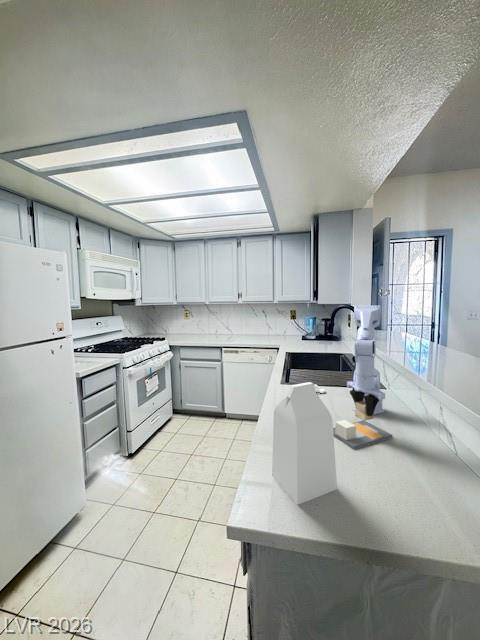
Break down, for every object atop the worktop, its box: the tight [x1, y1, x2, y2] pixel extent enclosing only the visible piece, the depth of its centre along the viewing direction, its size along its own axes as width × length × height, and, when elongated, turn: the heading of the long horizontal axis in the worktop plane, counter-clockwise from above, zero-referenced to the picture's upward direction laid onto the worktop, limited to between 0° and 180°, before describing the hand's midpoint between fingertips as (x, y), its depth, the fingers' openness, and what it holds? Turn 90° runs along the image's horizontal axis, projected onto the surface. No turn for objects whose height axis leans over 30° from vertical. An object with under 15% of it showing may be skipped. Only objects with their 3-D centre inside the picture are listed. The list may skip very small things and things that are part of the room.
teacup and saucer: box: [313, 383, 326, 394], centre depth 135 cm, size 9×8×4 cm
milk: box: [271, 381, 338, 506], centre depth 69 cm, size 12×12×26 cm
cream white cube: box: [335, 419, 356, 440], centre depth 90 cm, size 4×5×4 cm
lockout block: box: [354, 401, 374, 422], centre depth 93 cm, size 4×4×5 cm
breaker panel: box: [333, 420, 393, 450], centre depth 92 cm, size 17×12×1 cm
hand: (364, 412), depth 93 cm, fingers closed on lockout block, 4 cm apart
